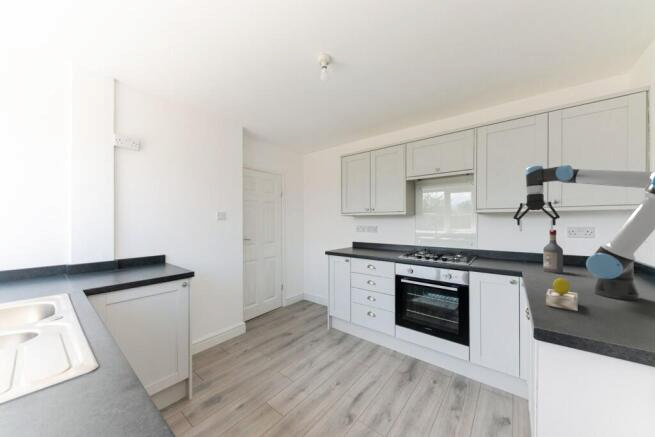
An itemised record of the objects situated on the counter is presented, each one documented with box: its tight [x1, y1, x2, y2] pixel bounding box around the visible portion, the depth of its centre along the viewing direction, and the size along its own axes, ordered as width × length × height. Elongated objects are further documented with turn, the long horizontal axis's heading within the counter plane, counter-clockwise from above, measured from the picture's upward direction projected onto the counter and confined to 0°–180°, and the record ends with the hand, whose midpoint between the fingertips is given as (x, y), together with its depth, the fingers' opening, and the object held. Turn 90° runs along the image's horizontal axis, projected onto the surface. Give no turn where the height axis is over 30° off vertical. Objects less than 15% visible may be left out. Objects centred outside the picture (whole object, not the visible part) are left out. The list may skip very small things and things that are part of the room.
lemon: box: [552, 277, 571, 295], centre depth 114 cm, size 6×6×8 cm
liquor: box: [542, 229, 564, 274], centre depth 182 cm, size 9×9×30 cm
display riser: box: [545, 288, 579, 312], centre depth 114 cm, size 10×12×5 cm
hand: (535, 231), depth 144 cm, fingers open, 13 cm apart
